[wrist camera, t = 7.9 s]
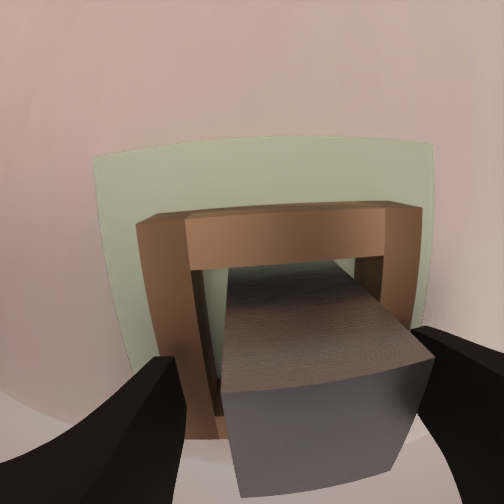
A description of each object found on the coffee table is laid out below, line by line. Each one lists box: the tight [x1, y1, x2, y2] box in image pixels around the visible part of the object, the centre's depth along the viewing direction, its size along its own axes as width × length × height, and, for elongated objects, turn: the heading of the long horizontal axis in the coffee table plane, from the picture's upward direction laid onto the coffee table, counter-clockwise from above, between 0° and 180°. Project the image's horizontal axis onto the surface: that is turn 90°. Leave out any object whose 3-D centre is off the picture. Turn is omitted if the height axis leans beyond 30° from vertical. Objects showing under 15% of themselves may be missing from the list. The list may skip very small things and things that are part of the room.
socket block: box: [93, 136, 434, 439], centre depth 11 cm, size 14×14×4 cm
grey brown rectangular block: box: [221, 260, 435, 498], centre depth 8 cm, size 4×4×7 cm
